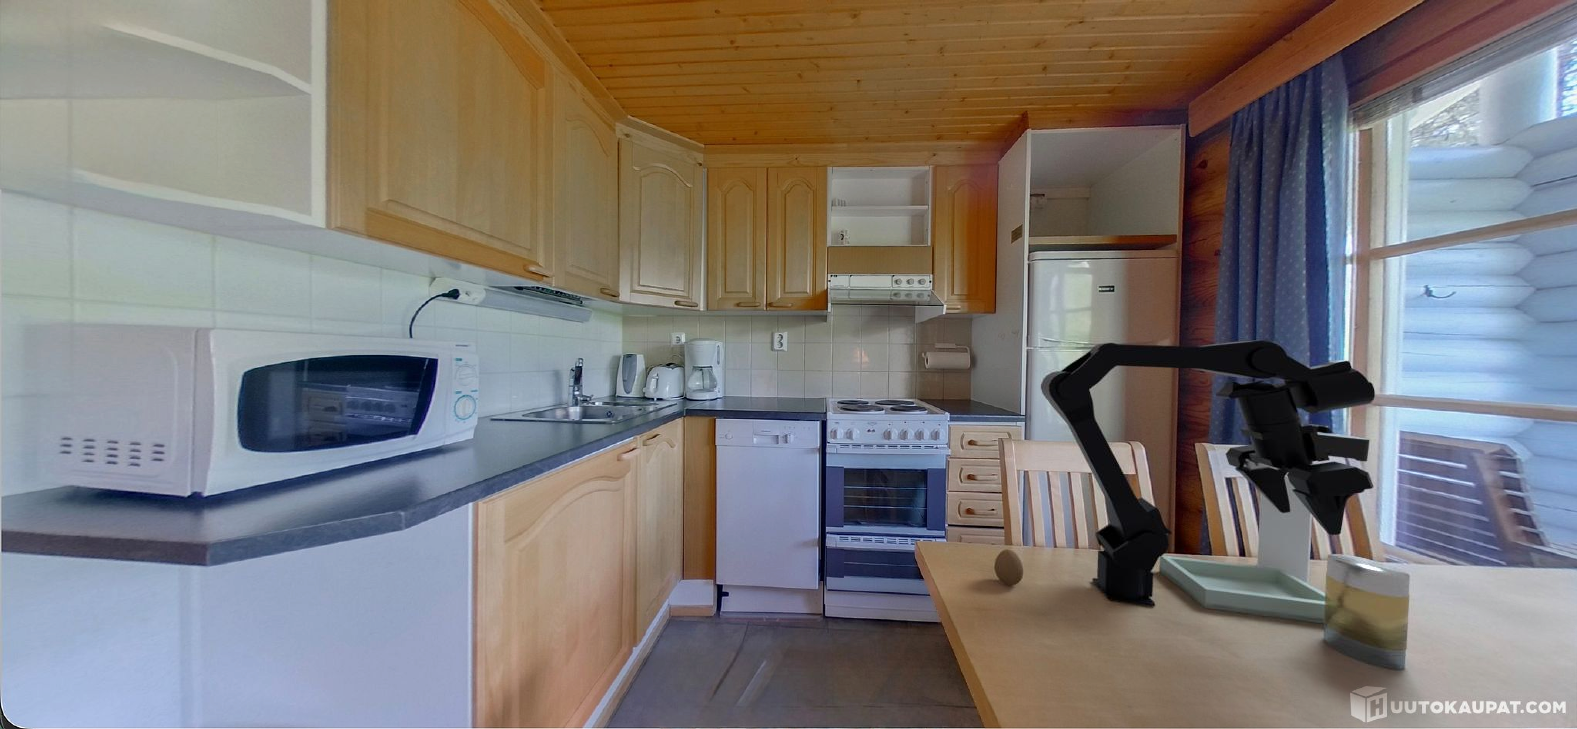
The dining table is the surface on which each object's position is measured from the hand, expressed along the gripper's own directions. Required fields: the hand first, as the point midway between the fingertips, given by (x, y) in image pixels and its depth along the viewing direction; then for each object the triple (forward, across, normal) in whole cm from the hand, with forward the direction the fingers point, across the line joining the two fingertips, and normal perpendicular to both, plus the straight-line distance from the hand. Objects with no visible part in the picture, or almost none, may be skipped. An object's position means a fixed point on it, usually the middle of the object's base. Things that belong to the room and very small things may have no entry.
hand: (1308, 522), depth 63 cm
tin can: (+16, -4, +1) cm, 17 cm away
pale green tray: (+14, +7, +8) cm, 18 cm away
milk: (+18, +20, -4) cm, 27 cm away
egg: (+4, -4, +43) cm, 43 cm away
